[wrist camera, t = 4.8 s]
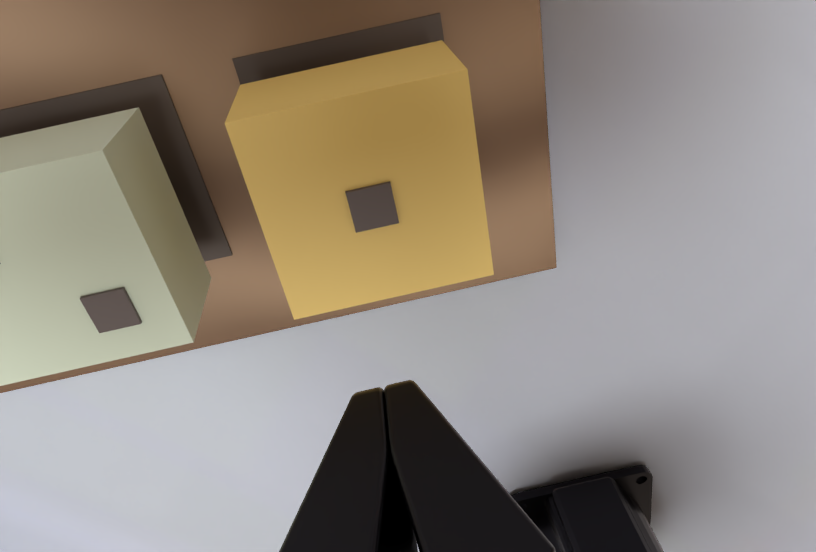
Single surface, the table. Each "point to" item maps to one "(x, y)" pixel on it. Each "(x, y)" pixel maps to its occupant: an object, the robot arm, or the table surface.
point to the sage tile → (92, 249)
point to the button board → (262, 59)
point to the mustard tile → (365, 177)
